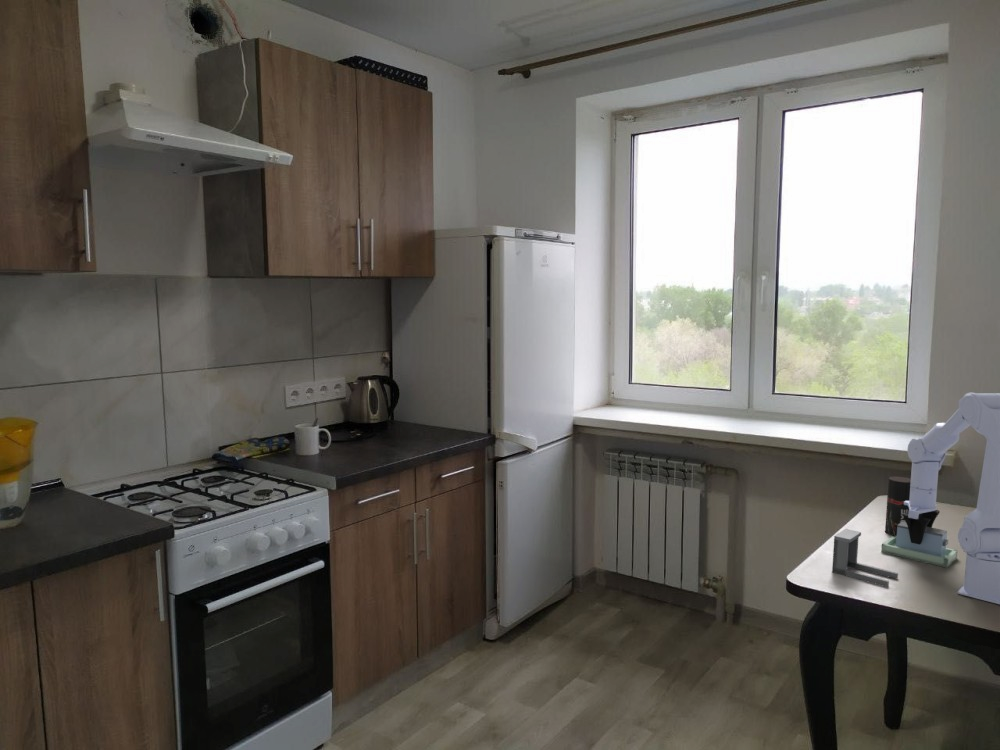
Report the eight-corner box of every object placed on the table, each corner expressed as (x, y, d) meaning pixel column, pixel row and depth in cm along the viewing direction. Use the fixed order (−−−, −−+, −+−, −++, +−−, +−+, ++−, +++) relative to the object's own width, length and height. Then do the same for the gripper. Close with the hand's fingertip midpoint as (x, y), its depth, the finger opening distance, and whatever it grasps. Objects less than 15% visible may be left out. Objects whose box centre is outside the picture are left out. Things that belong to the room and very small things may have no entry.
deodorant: (897, 537, 193) (900, 483, 191) (879, 530, 199) (883, 477, 197) (915, 535, 195) (919, 481, 193) (897, 528, 200) (901, 475, 199)
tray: (956, 558, 179) (957, 550, 178) (947, 567, 173) (947, 559, 172) (892, 543, 189) (892, 536, 189) (881, 551, 183) (881, 544, 183)
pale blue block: (947, 556, 178) (949, 531, 177) (943, 561, 175) (945, 535, 174) (900, 545, 185) (902, 521, 185) (895, 549, 182) (897, 525, 182)
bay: (897, 578, 166) (900, 541, 165) (887, 586, 161) (890, 548, 160) (843, 563, 175) (845, 528, 174) (832, 572, 170) (834, 535, 169)
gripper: (914, 478, 186) (910, 529, 188) (896, 489, 176) (892, 543, 178) (945, 484, 181) (941, 536, 183) (928, 495, 171) (924, 550, 173)
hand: (919, 540), depth 180 cm, fingers open, 5 cm apart
